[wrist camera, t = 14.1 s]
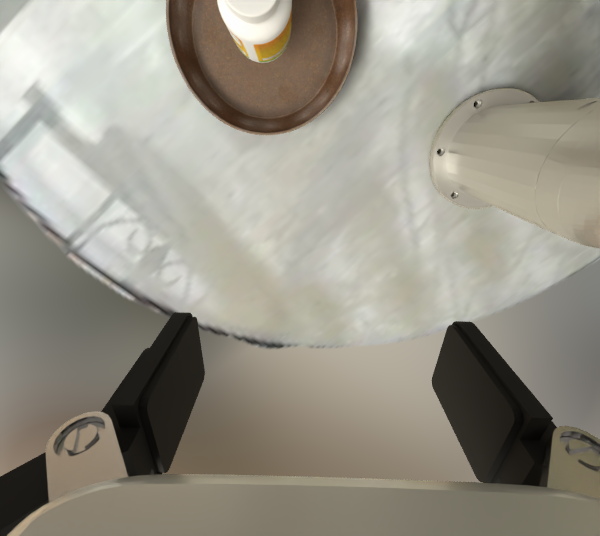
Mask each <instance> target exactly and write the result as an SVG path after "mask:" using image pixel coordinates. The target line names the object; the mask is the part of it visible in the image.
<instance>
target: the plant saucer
mask: <svg viewBox="0 0 600 536" xmlns="http://www.w3.org/2000/svg"><path fill="white" fill-rule="evenodd" d="M166 22H167V31H168V37H169V42H170V46H171V50H172V53H173V56H174V59H175V62H176V64H177V67H178V69H179V71H180V73H181V75H182V77H183V79H184V81H185V83H186V84H187V86H188V88H189V89H190V91H191V92H192V93H193V95H194V96H195V97H196V99H197V100H198V101H199V102H200V103H201V104H202V106H203V107H204V108H205V109H206V110H208V111H209V112H210V113H211V114H212V115H213V116H215V117H216V118H217V119H219V120H220V121H222V122H223V123H225V124H227V125H229V126H231V127H233V128H235V129H237V130H240V131H243V132H247V133H251V134H257V135H277V134H282V133H287V132H290V131H293V130H296V129H298V128H300V127H302V126H304V125H306V124H308V123H309V122H311V121H312V120H314V119H315V118H316V117H318V116H319V115H320V114H321V113H322V112H323V111H324V110H325V109H326V108H327V107H328V106H329V105H330V104H331V102H332V101H333V100H334V99H335V97H336V96H337V94H338V93H339V91H340V90H341V88H342V86H343V84H344V82H345V79H346V77H347V75H348V72H349V70H350V67H351V64H352V61H353V57H354V52H355V47H356V40H357V28H358V16H357V4H356V0H292V16H291V34H290V39H289V43H288V45H287V47H286V49H285V51H284V52H283V53H282V55H280V56H279V57H278V58H277V59H275V60H273V61H271V62H267V63H259V62H255V61H253V60H251V59H249V58H247V57H246V56H245V55H244V54H243V53H242V52H241V51H240V49H239V48H238V47H237V45H236V43H235V41H234V39H233V37H232V36H231V34H230V32H229V30H228V28H227V26H226V24H225V23H224V21H223V19H222V16H221V14H220V11H219V7H218V3H217V0H166Z"/></svg>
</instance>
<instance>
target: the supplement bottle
mask: <svg viewBox="0 0 600 536" xmlns="http://www.w3.org/2000/svg"><path fill="white" fill-rule="evenodd" d="M217 3H218V7H219V11H220V14H221V16H222V19H223V21H224V23H225V24H226V26H227V28H228V30H229V32H230V34H231V36H232V37H233V39H234V41H235V43H236V45H237V47H238V48H239V49H240V51H241V52H242V53H243V54H244V55H245V56H246V57H247V58H249V59H251V60H253V61H255V62H259V63H267V62H271V61H273V60H275V59H277V58H278V57H279V56H280V55H282V53H283V52H284V51H285V49H286V47H287V45H288V43H289V39H290V34H291V16H292V0H217Z"/></svg>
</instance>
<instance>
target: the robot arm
mask: <svg viewBox="0 0 600 536" xmlns="http://www.w3.org/2000/svg"><path fill="white" fill-rule="evenodd" d="M474 102H476V105H475V106H474ZM438 149H440V152H439V153H437V151H438ZM430 173H431V177H432V180H433V183H434V185H435V187H436V188H437V190H438V192H439V193H440V194H441V195H442V196H443V197H444V198H446V199H447V200H449V201H450V202H452V203H454V204H456V205H458V206H461V207H465V208H473V209H480V208H487V207H491V206H495V207H497V208H499V209H501V210H503V211H506V212H508V213H510V214H512V215H514V216H517V217H519V218H521V219H523V220H525V221H528V222H530V223H532V224H534V225H536V226H539V227H541V228H543V229H545V230H548V231H550V232H552V233H555V234H557V235H559V236H561V237H564V238H566V239H568V240H570V241H573V242H576V243H579V244H581V245H585V246H589V247H594V248H600V98H588V99H575V100H562V101H549V102H539V100H537V99H536V98H535V97H534V96H532V95H531V94H530V93H527V92H525V91H522V90H520V89H513V88H500V89H493V90H488V91H485V92H482V93H479V94H477V95H474V96H473V97H471V98H469V99H468V100H466V101H464V102H463V103H462V104H461V105H459V106H458V107H457V108H456V109H455V110H453V112H452V113H451V114H450V115H449V116H448V117H447V118H446V120H445V121H444V122H443V124H442V126H441V127H440V129H439V130H438V132H437V135H436V137H435V139H434V142H433V145H432V149H431V153H430ZM452 193H453V195H452V196H451V194H452ZM204 375H205V371H204V364H203V357H202V350H201V343H200V337H199V330H198V323H197V318H196V317H192V314H191V313H176V312H175V313H173V315H172V316H171V317H170V319H169V321H168V322H167V323H166V325H165V326H164V328H163V329H162V331H161V332H160V334H159V335H158V337H157V338H156V340H155V341H154V343H153V344H152V346H151V347H150V348H147V349H145V350H144V351H143V353H142V354H141V355H140V357H139V358H138V360H137V361H136V362H135V364H134V365H133V367H132V368H131V370H130V371H129V373H128V374H127V375H126V377H125V378H124V380H123V381H122V383H121V384H120V385H119V387H118V388H117V390H116V391H115V393H114V394H113V395H112V397H111V398H110V400H109V402H108V403H107V404H106V406H105V407H104V408H103V410H102V411H101V412H97V411H94V412H88V413H84V414H81V415H79V416H76V417H74V418H73V419H71V420H69V421H67V422H66V423H65V424H63V425H62V426H61V427H59V428H58V429H57V430H56V432H55V433H54V434H53V435H52V436H51V438H50V440H49V441H48V443H47V446H46V452H45V453H43V454H41V455H40V456H38V457H36V458H34V459H32V460H30V461H28V462H27V463H25V464H23V465H21V466H19V467H17V468H16V469H14V470H12V471H10V472H8V473H6V474H4V475H3V476H1V477H0V536H600V439H598V438H596V437H595V436H593V435H591V434H590V433H588V432H586V431H583V430H581V429H578V428H574V427H569V426H560V427H558V428H557V427H556V426H555V425H554V423H553V422H552V421H551V420H552V419H553V418H552V417H551V416H550V414H549V413H548V412H547V411H546V410H545V408H544V407H543V406H542V405H541V403H540V402H539V401H538V400H537V399H536V398H535V396H534V395H533V394H532V393H531V391H530V390H529V389H528V388H527V387H526V386H525V385H524V383H523V382H522V381H521V380H520V378H519V377H518V376H517V375H516V374H515V372H514V371H513V370H512V369H511V368H510V367H509V365H508V364H507V363H506V362H505V360H504V359H503V358H502V357H501V356H500V354H499V353H498V352H497V351H496V350H495V348H494V347H493V346H492V345H491V344H490V342H489V341H488V340H487V339H486V338H485V336H484V335H483V334H482V333H481V332H480V330H479V329H478V328H477V327H476V326H475V324H473V323H472V322H457V321H456V322H454V323H453V324H452V325H450V326H448V328H447V331H446V334H445V338H444V341H443V344H442V347H441V351H440V354H439V357H438V361H437V364H436V367H435V370H434V374H433V377H432V386H433V389H434V391H435V393H436V395H437V397H438V399H439V401H440V403H441V405H442V407H443V409H444V411H445V413H446V415H447V418H448V420H449V422H450V424H451V426H452V428H453V430H454V432H455V434H456V436H457V438H458V440H459V442H460V445H461V447H462V449H463V451H464V453H465V455H466V457H467V459H468V461H469V463H470V465H471V467H472V469H473V471H474V474H475V476H476V477H477V479H478V480H479V481H480V482H483V483H476V482H450V481H449V482H447V481H422V480H420V481H419V480H393V479H362V478H361V479H360V478H330V477H295V476H293V477H292V476H255V475H253V476H252V475H202V474H199V475H196V474H194V475H193V474H188V475H187V474H186V475H185V474H163V475H162V473H166V472H167V471H168V470H169V468H170V466H171V463H172V461H173V458H174V455H175V453H176V450H177V448H178V445H179V442H180V440H181V437H182V434H183V432H184V429H185V427H186V424H187V422H188V419H189V417H190V414H191V411H192V409H193V406H194V403H195V401H196V399H197V396H198V393H199V391H200V388H201V386H202V383H203V380H204Z"/></svg>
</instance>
